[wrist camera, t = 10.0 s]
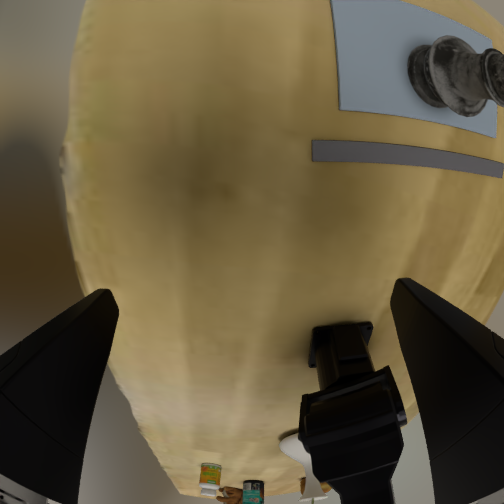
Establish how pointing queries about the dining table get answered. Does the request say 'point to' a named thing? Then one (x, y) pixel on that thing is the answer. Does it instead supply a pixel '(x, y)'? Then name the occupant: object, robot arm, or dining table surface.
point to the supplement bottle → (210, 479)
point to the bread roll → (324, 485)
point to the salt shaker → (457, 75)
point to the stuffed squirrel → (231, 495)
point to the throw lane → (397, 82)
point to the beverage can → (253, 492)
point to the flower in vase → (297, 452)
